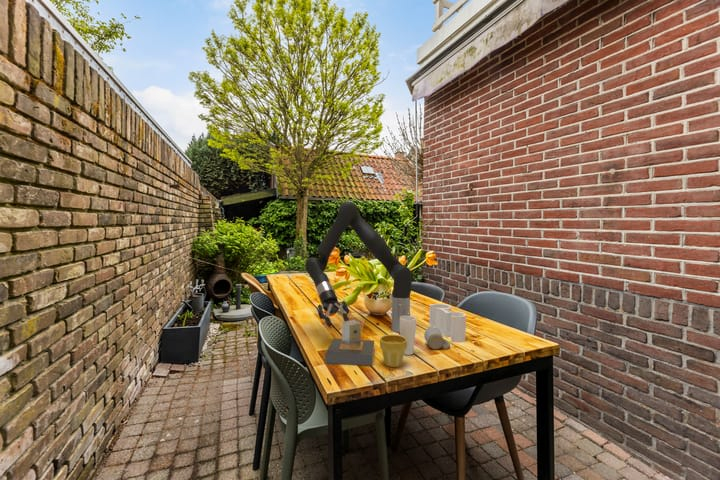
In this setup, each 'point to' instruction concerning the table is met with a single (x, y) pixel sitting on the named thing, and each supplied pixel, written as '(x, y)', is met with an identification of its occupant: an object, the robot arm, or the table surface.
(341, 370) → the table surface
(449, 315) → the bracket
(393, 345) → the plant pot
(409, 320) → the white tube
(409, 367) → the table surface
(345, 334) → the aluminium block
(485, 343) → the table surface
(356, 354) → the steel plate
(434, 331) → the ceramic mug
